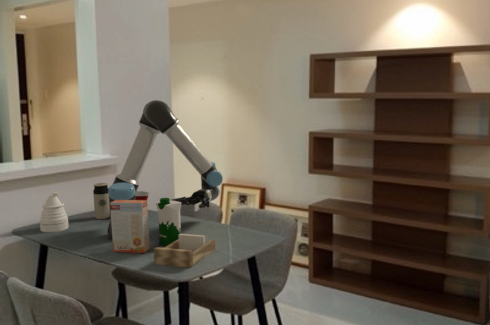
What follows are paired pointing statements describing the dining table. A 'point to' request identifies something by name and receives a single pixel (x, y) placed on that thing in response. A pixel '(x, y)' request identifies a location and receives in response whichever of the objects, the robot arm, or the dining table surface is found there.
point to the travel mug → (101, 201)
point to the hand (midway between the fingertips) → (181, 207)
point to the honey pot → (53, 215)
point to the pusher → (191, 241)
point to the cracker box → (130, 226)
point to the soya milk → (168, 221)
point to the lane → (181, 254)
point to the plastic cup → (141, 195)
